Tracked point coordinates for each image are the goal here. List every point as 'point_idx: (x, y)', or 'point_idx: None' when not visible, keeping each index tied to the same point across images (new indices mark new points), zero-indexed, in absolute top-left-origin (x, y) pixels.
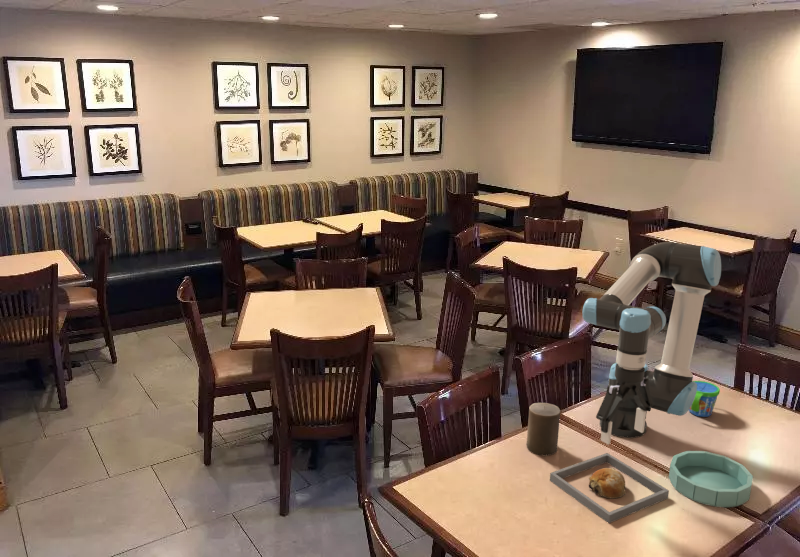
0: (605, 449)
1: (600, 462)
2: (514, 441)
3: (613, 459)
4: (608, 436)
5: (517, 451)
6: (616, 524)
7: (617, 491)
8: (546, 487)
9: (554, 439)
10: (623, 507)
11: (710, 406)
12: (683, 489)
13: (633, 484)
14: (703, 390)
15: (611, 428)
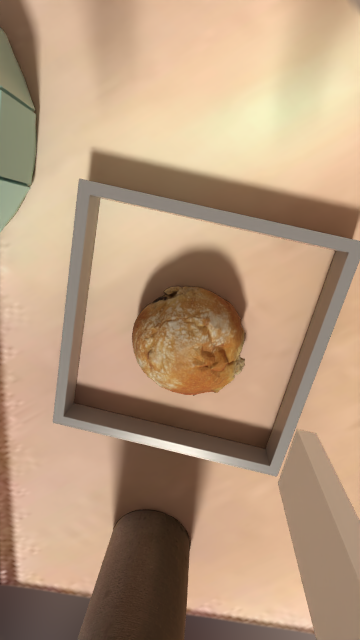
0: (21, 435)
1: (95, 412)
2: None
3: (66, 393)
4: (337, 484)
5: (212, 568)
6: (339, 221)
7: (217, 296)
8: None
9: (144, 553)
10: (290, 233)
11: None
12: (25, 153)
13: (109, 296)
14: None
15: (348, 546)
